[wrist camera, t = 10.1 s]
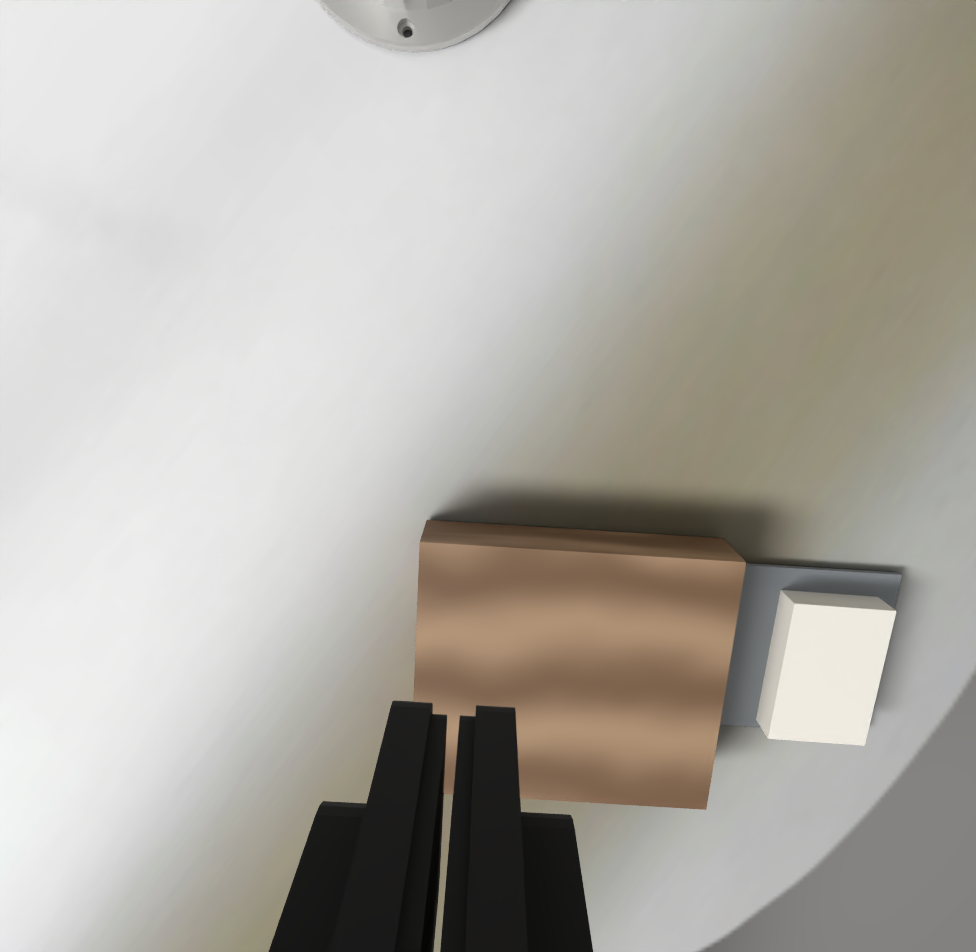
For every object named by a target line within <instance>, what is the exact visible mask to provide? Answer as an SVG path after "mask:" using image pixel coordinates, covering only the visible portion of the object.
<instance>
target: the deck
mask: <svg viewBox="0 0 976 952" xmlns="http://www.w3.org/2000/svg"><path fill="white" fill-rule="evenodd" d="M745 568H746V561H745V560H744V559H743V558H742V557H741V556H740V555H739V554H738V553H737V552H736V551H735V550H734V549H733V548H732V547H731V546H730V545H729V544H728V543H727V542H726V541H725V540H724V539H723V538H711V537H694V536H678V535H662V534H646V533H630V532H614V531H598V530H582V529H566V528H550V527H534V526H518V525H502V524H486V523H470V522H453V521H437V520H427V521H426V524H425V528H424V531H423V534H422V537H421V540H420V552H419V577H418V602H417V627H416V652H415V677H414V702H427V703H433V714H444V715H447V734H446V755H445V776H444V794H453V792H454V780H455V767H456V755H457V743H458V731H459V719H460V715H461V716H475V713H476V705H481V706H499V707H515V711H516V729H517V748H518V768H519V787H520V798H524V799H540V800H557V801H573V802H590V803H606V804H623V805H639V806H656V807H672V808H689V809H705V810H706V807H707V801H708V795H709V789H710V783H711V777H712V770H713V764H714V758H715V752H716V746H717V740H718V734H719V727H720V721H721V715H722V709H723V703H724V697H725V691H726V684H727V678H728V672H729V666H730V660H731V654H732V647H733V641H734V635H735V629H736V623H737V617H738V611H739V604H740V598H741V592H742V586H743V580H744V574H745Z"/></svg>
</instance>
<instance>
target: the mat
mask: <svg viewBox="0 0 976 952" xmlns="http://www.w3.org/2000/svg"><path fill="white" fill-rule="evenodd" d="M901 578H902V575H901V574H900V573H897V572H881V571H865V570H849V569H833V568H817V567H801V566H784V565H768V564H752V563H746V568H745V574H744V580H743V586H742V592H741V598H740V604H739V611H738V617H737V623H736V629H735V635H734V641H733V647H732V654H731V660H730V666H729V672H728V678H727V684H726V691H725V697H724V703H723V709H722V715H721V721H720V725H727V726H744V727H760V725H759V723H758V722H757V720H756V717H757V712H758V706H759V701H760V696H761V691H762V685H763V680H764V675H765V670H766V664H767V659H768V654H769V649H770V643H771V638H772V633H773V628H774V622H775V617H776V612H777V607H778V602H779V596H780V591H781V590H790V591H804V592H817V593H831V594H845V595H858V596H872V597H879V598H880V599H881V600H883V601H884V602H885V603H887V604H888V605H889V606H891V607H892V608H893V609H894V610H895V605H896V601H897V596H898V592H899V587H900V583H901ZM760 728H761V727H760Z"/></svg>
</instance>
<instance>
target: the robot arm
mask: <svg viewBox="0 0 976 952" xmlns="http://www.w3.org/2000/svg"><path fill="white" fill-rule="evenodd" d="M318 1H319V3H320V4H321V5H322V7H323V8H324V9H325V10H326V12H327V13H328V14H329V15H330V16H332V17H333V18H334V19H335V20H336V21H337V22H338V23H340V24H341V25H342V26H343V27H344V28H345V29H346V30H348V31H350V32H351V33H353V34H355V35H356V36H358V37H360V38H362V39H363V40H365V41H367V42H369V43H372V44H375V45H378V46H381V47H384V48H387V49H390V50H397V51H405V52H424V51H434V50H439V49H442V48H445V47H449V46H452V45H455V44H458V43H460V42H462V41H464V40H465V39H467V38H469V37H471V36H473V35H474V34H476V33H478V32H480V31H481V30H482V29H483V28H484V27H485V26H487V25H488V24H489V23H490V22H491V21H492V20H493V19H495V18H496V17H497V16H498V15H499V14H500V13H501V11H502V10H503V9H504V7H505V6H506V5H507V4H508V2H509V1H510V0H318ZM406 30H411V31H412V32H413V33H412V36H411V37H408V38H405V37H404V36H403V34H404V32H405V31H406ZM446 734H447V715H444V714H433V703H427V702H409V701H393V702H392V705H391V708H390V712H389V716H388V720H387V724H386V728H385V732H384V736H383V740H382V744H381V748H380V752H379V756H378V760H377V764H376V768H375V772H374V776H373V780H372V784H371V788H370V792H369V796H368V800H367V804H363V803H345V802H327V801H323V802H322V803H321V804H320V806H319V808H318V811H317V813H316V815H315V818H314V821H313V824H312V827H311V830H310V833H309V836H308V839H307V842H306V845H305V847H304V850H303V853H302V856H301V859H300V862H299V865H298V868H297V871H296V874H295V877H294V880H293V882H292V885H291V888H290V891H289V894H288V897H287V900H286V903H285V906H284V909H283V912H282V915H281V917H280V920H279V923H278V926H277V929H276V932H275V935H274V938H273V941H272V944H271V947H270V950H269V952H433V949H434V938H435V927H436V916H437V906H438V893H439V878H440V858H441V838H442V817H443V796H444V776H445V755H446ZM440 952H593V948H592V942H591V935H590V928H589V922H588V915H587V908H586V902H585V895H584V888H583V882H582V875H581V868H580V862H579V855H578V848H577V842H576V835H575V828H574V824H573V819H572V817H571V815H563V814H545V813H527V812H521V807H520V787H519V768H518V748H517V729H516V711H515V707H499V706H481V705H476V713H475V716H461V715H460V719H459V731H458V743H457V755H456V767H455V780H454V792H453V804H452V816H451V829H450V841H449V853H448V865H447V877H446V890H445V902H444V914H443V926H442V938H441V951H440Z"/></svg>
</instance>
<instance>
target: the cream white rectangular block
mask: <svg viewBox="0 0 976 952" xmlns="http://www.w3.org/2000/svg"><path fill="white" fill-rule="evenodd" d="M895 615H896V610H894V609H893V608H892V607H891V606H889V605H888V604H887V603H885V602H884V601H883V600H881V599H880V598H879V597H872V596H858V595H845V594H831V593H817V592H804V591H790V590H781V591H780V596H779V602H778V607H777V612H776V617H775V622H774V628H773V633H772V638H771V643H770V649H769V654H768V659H767V664H766V670H765V675H764V680H763V685H762V691H761V696H760V701H759V706H758V712H757V717H756V720H757V722H758V723H759V725H760V727H761V728H762V730H763V731H764V733H765V735H766V736H767V738H768V739H781V740H795V741H809V742H823V743H837V744H851V745H865V742H866V738H867V734H868V730H869V725H870V721H871V717H872V713H873V709H874V704H875V700H876V696H877V692H878V687H879V683H880V679H881V675H882V670H883V666H884V662H885V658H886V654H887V649H888V645H889V641H890V637H891V632H892V628H893V624H894V620H895Z"/></svg>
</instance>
